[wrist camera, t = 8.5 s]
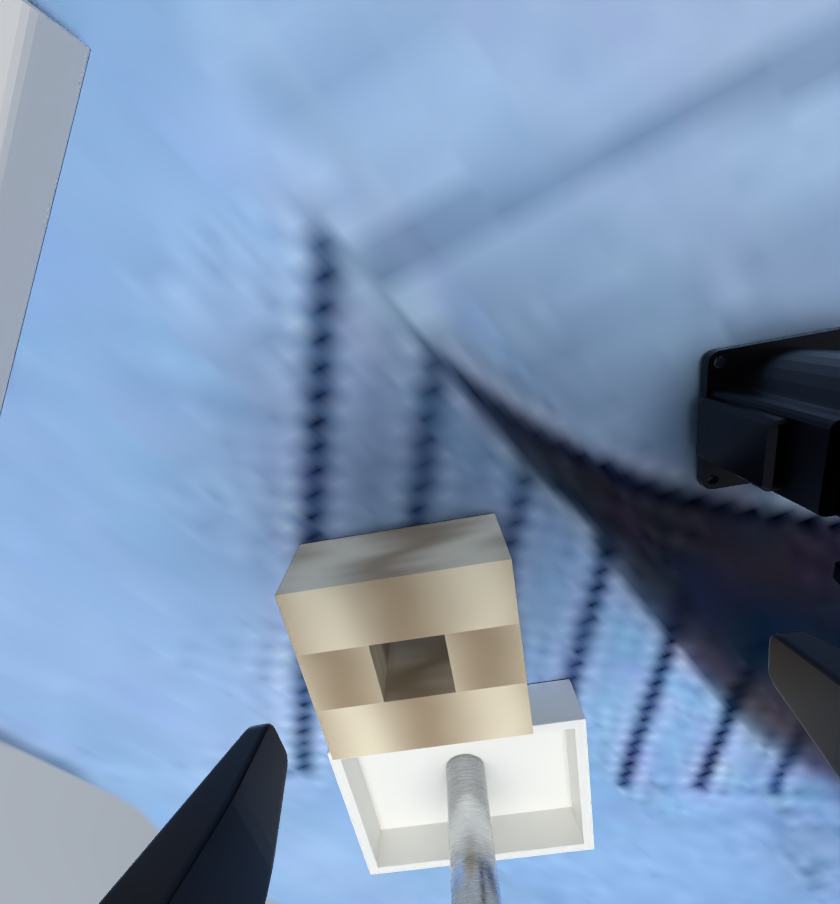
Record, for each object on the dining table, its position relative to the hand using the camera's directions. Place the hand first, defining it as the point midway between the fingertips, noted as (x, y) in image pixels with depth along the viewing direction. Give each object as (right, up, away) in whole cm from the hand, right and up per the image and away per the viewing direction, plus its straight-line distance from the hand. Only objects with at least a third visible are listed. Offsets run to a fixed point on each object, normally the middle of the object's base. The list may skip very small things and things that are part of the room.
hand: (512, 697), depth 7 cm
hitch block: (-2, -4, +15) cm, 16 cm away
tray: (+1, -15, +19) cm, 24 cm away
